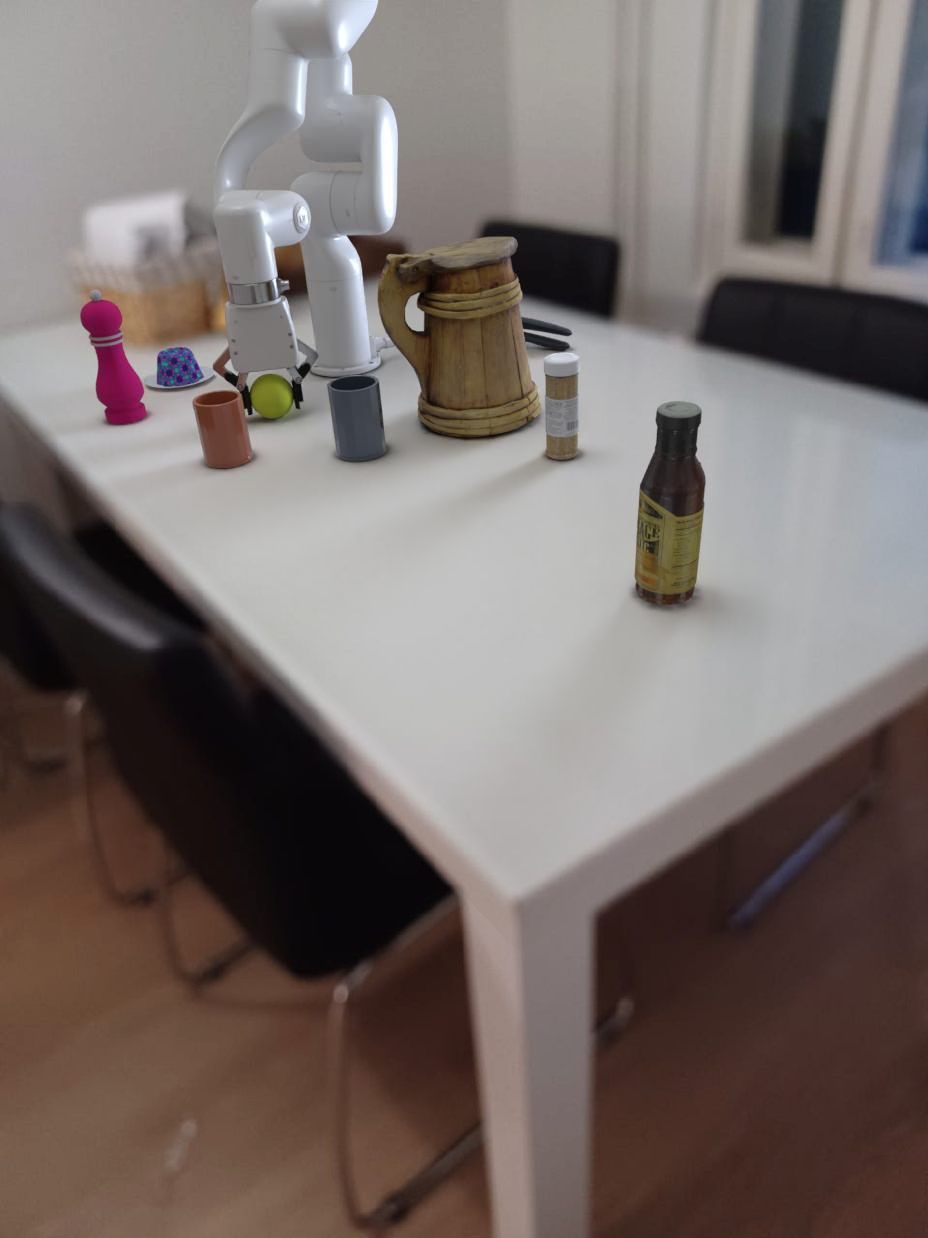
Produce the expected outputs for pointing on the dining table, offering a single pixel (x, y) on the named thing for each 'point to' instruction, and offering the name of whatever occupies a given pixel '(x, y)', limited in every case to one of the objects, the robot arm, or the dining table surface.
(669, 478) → the sauce bottle
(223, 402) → the terracotta cup
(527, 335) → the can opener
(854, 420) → the dining table surface
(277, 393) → the ball
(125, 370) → the pepper mill
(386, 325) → the tankard
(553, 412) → the sprinkles bottle
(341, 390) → the grey cup
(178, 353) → the pudding
